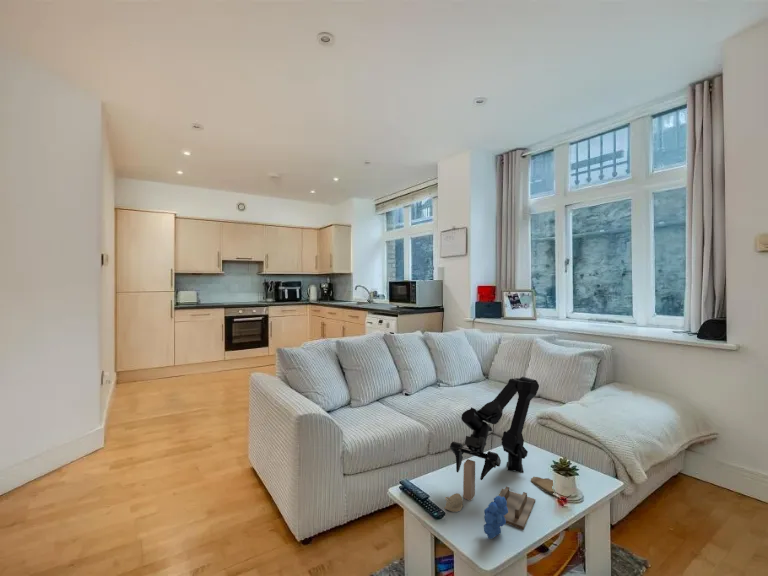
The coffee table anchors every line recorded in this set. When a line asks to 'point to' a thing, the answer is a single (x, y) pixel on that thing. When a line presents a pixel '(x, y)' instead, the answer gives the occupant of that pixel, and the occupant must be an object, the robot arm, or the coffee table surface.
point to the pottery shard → (543, 484)
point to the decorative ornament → (454, 503)
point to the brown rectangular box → (469, 480)
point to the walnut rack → (517, 507)
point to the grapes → (495, 516)
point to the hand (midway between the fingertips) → (468, 475)
